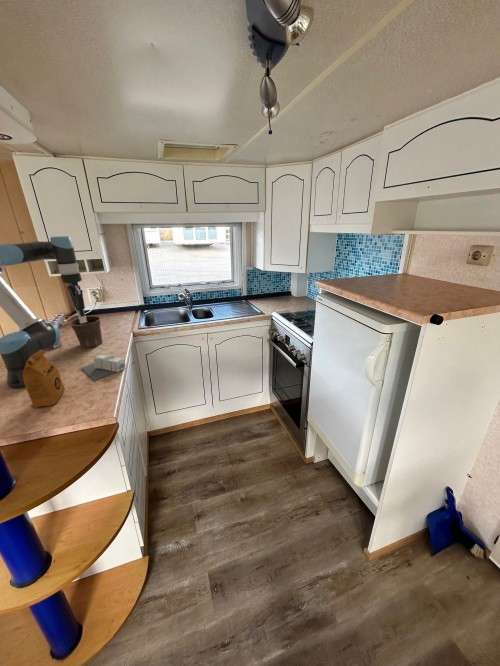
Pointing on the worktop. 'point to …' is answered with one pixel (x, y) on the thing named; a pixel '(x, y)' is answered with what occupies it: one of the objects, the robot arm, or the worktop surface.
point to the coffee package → (42, 380)
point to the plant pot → (88, 331)
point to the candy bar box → (59, 340)
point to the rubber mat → (96, 372)
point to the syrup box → (109, 362)
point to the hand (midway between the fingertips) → (83, 322)
